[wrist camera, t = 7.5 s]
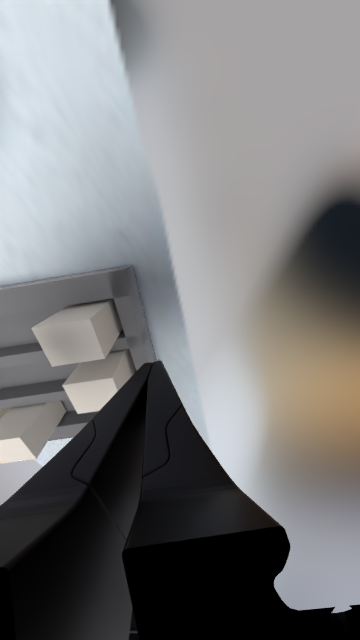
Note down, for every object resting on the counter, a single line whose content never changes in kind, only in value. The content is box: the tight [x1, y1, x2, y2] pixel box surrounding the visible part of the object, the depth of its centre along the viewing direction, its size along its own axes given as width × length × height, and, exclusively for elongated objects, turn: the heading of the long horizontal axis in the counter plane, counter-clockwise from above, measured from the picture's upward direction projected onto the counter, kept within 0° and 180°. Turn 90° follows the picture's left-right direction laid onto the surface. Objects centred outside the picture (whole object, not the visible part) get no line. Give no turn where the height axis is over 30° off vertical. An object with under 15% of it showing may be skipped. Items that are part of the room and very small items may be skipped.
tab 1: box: [0, 401, 66, 464], centre depth 19 cm, size 3×4×5 cm
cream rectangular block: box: [31, 298, 123, 367], centre depth 15 cm, size 3×4×5 cm
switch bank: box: [0, 265, 156, 441], centre depth 19 cm, size 18×20×4 cm
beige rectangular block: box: [62, 349, 136, 414], centre depth 17 cm, size 3×4×5 cm
